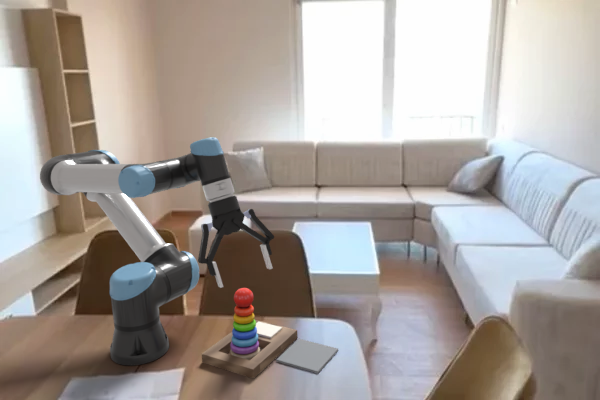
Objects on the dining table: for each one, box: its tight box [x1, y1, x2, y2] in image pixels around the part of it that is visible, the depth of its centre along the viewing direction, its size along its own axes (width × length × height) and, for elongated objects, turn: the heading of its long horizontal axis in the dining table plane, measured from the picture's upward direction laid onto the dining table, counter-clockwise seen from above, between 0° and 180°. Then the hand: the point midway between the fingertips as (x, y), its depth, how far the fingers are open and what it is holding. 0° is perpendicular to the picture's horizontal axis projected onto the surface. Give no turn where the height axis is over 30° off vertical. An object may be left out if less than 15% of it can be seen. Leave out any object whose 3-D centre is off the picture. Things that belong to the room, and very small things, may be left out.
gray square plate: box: [275, 338, 339, 374], centre depth 130 cm, size 12×12×1 cm
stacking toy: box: [229, 287, 261, 360], centre depth 129 cm, size 8×8×19 cm
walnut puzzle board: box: [201, 319, 299, 379], centre depth 133 cm, size 16×22×3 cm
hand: (245, 277), depth 127 cm, fingers open, 13 cm apart
